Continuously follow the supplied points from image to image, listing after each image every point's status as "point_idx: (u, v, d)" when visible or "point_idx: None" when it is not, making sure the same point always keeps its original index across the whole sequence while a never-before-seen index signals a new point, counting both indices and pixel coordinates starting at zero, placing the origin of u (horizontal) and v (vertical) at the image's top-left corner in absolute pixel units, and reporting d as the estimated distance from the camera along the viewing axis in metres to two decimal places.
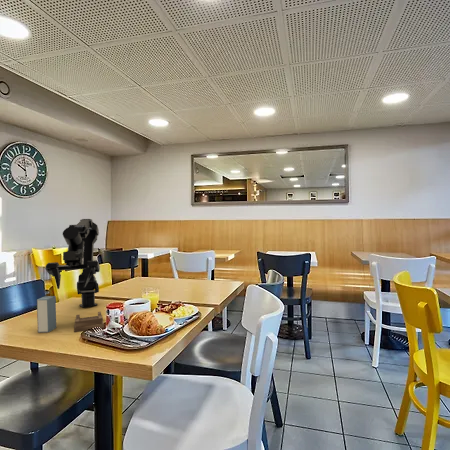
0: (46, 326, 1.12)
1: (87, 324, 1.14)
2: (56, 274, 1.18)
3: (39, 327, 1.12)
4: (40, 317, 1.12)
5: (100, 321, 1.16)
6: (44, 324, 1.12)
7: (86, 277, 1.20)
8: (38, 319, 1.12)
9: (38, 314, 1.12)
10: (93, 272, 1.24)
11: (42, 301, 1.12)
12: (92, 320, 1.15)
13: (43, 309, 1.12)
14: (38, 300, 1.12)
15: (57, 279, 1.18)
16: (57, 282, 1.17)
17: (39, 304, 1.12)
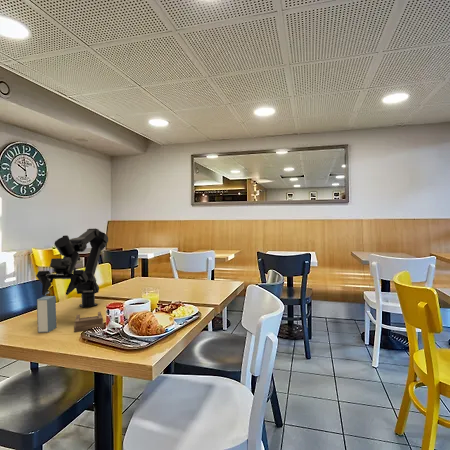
0: (46, 326, 1.12)
1: (87, 324, 1.14)
2: (44, 281, 1.23)
3: (39, 327, 1.12)
4: (40, 317, 1.12)
5: (100, 321, 1.16)
6: (44, 324, 1.12)
7: (70, 285, 1.22)
8: (38, 319, 1.12)
9: (38, 314, 1.12)
10: (79, 282, 1.26)
11: (42, 301, 1.12)
12: (92, 320, 1.15)
13: (43, 309, 1.12)
14: (38, 300, 1.12)
15: (44, 286, 1.22)
16: (43, 288, 1.21)
17: (39, 304, 1.12)
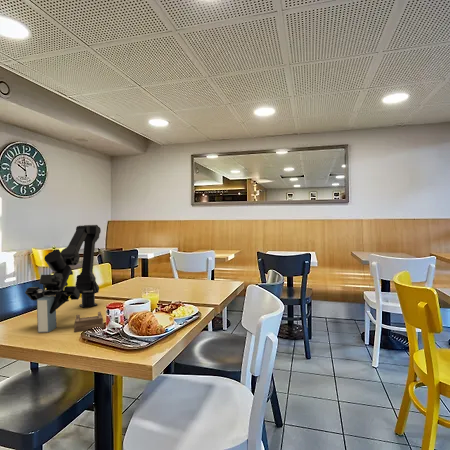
0: (46, 326, 1.12)
1: (87, 324, 1.14)
2: None
3: (39, 327, 1.12)
4: (40, 317, 1.12)
5: (100, 321, 1.16)
6: (44, 324, 1.12)
7: (54, 303, 1.15)
8: (38, 319, 1.12)
9: (38, 314, 1.12)
10: (65, 299, 1.19)
11: (42, 301, 1.12)
12: (92, 320, 1.15)
13: (43, 309, 1.12)
14: (38, 300, 1.12)
15: None
16: None
17: (39, 304, 1.12)
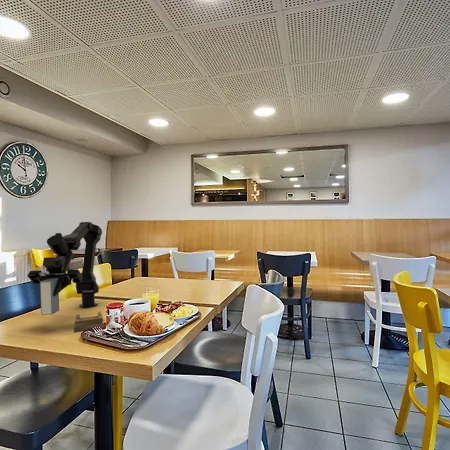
0: (50, 308, 1.12)
1: (87, 324, 1.14)
2: None
3: (42, 309, 1.12)
4: (43, 299, 1.12)
5: (100, 321, 1.16)
6: (47, 306, 1.12)
7: (57, 285, 1.15)
8: (41, 301, 1.12)
9: (41, 296, 1.12)
10: (68, 282, 1.19)
11: (45, 283, 1.12)
12: (92, 320, 1.15)
13: (46, 291, 1.12)
14: (41, 282, 1.12)
15: None
16: None
17: (42, 286, 1.12)
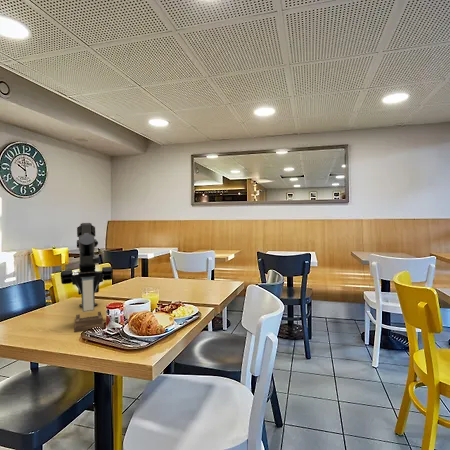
0: (92, 304, 1.17)
1: (87, 324, 1.14)
2: (79, 280, 1.19)
3: (84, 306, 1.16)
4: (86, 297, 1.16)
5: (100, 321, 1.16)
6: (89, 302, 1.17)
7: (95, 283, 1.20)
8: (83, 299, 1.16)
9: (83, 294, 1.16)
10: (100, 279, 1.25)
11: (88, 281, 1.17)
12: (92, 320, 1.15)
13: (89, 288, 1.17)
14: (83, 280, 1.16)
15: (80, 284, 1.18)
16: (80, 287, 1.18)
17: (84, 284, 1.16)
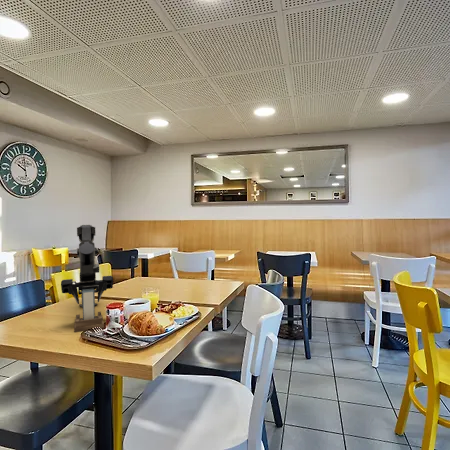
0: (93, 316, 1.17)
1: (87, 324, 1.14)
2: (75, 289, 1.18)
3: (84, 318, 1.16)
4: (86, 309, 1.16)
5: (100, 321, 1.16)
6: (90, 315, 1.17)
7: (99, 292, 1.21)
8: (84, 311, 1.16)
9: (84, 306, 1.16)
10: (104, 288, 1.25)
11: (88, 293, 1.17)
12: (92, 320, 1.15)
13: (89, 300, 1.17)
14: (84, 292, 1.16)
15: (77, 294, 1.18)
16: (77, 297, 1.17)
17: (85, 296, 1.16)
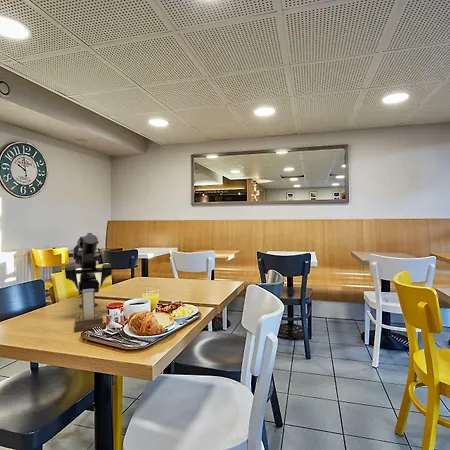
0: (93, 316, 1.17)
1: (87, 324, 1.14)
2: (75, 276, 1.31)
3: (84, 318, 1.16)
4: (86, 309, 1.16)
5: (100, 321, 1.16)
6: (90, 314, 1.17)
7: (102, 277, 1.34)
8: (84, 311, 1.16)
9: (84, 306, 1.16)
10: (107, 275, 1.39)
11: (88, 293, 1.17)
12: (92, 320, 1.15)
13: (89, 300, 1.17)
14: (84, 292, 1.16)
15: (76, 280, 1.30)
16: (76, 282, 1.30)
17: (85, 296, 1.16)
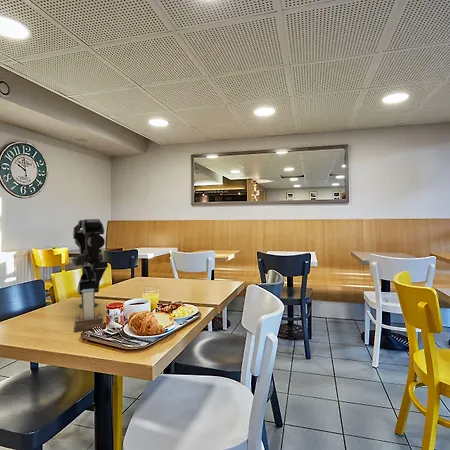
0: (93, 316, 1.17)
1: (87, 324, 1.14)
2: (85, 270, 1.40)
3: (84, 318, 1.16)
4: (86, 309, 1.16)
5: (100, 321, 1.16)
6: (90, 314, 1.17)
7: (95, 276, 1.32)
8: (84, 311, 1.16)
9: (84, 306, 1.16)
10: None
11: (88, 293, 1.17)
12: (92, 320, 1.15)
13: (89, 300, 1.17)
14: (84, 292, 1.16)
15: (87, 274, 1.40)
16: (87, 276, 1.40)
17: (85, 296, 1.16)
